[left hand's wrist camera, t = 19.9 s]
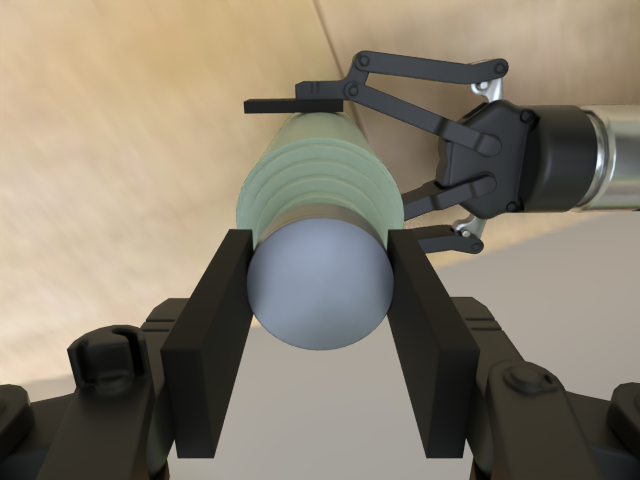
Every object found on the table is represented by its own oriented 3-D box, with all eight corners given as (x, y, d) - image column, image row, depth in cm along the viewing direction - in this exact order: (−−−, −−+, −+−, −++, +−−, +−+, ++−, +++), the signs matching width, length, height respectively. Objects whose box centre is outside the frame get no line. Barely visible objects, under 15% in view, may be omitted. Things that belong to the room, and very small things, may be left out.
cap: (297, 175, 13) (294, 188, 12) (414, 246, 14) (425, 267, 13) (229, 285, 15) (219, 309, 13) (339, 344, 15) (341, 372, 14)
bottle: (310, 206, 38) (297, 406, 15) (259, 139, 36) (155, 255, 13) (379, 158, 37) (477, 302, 14) (330, 85, 34) (350, 111, 12)
